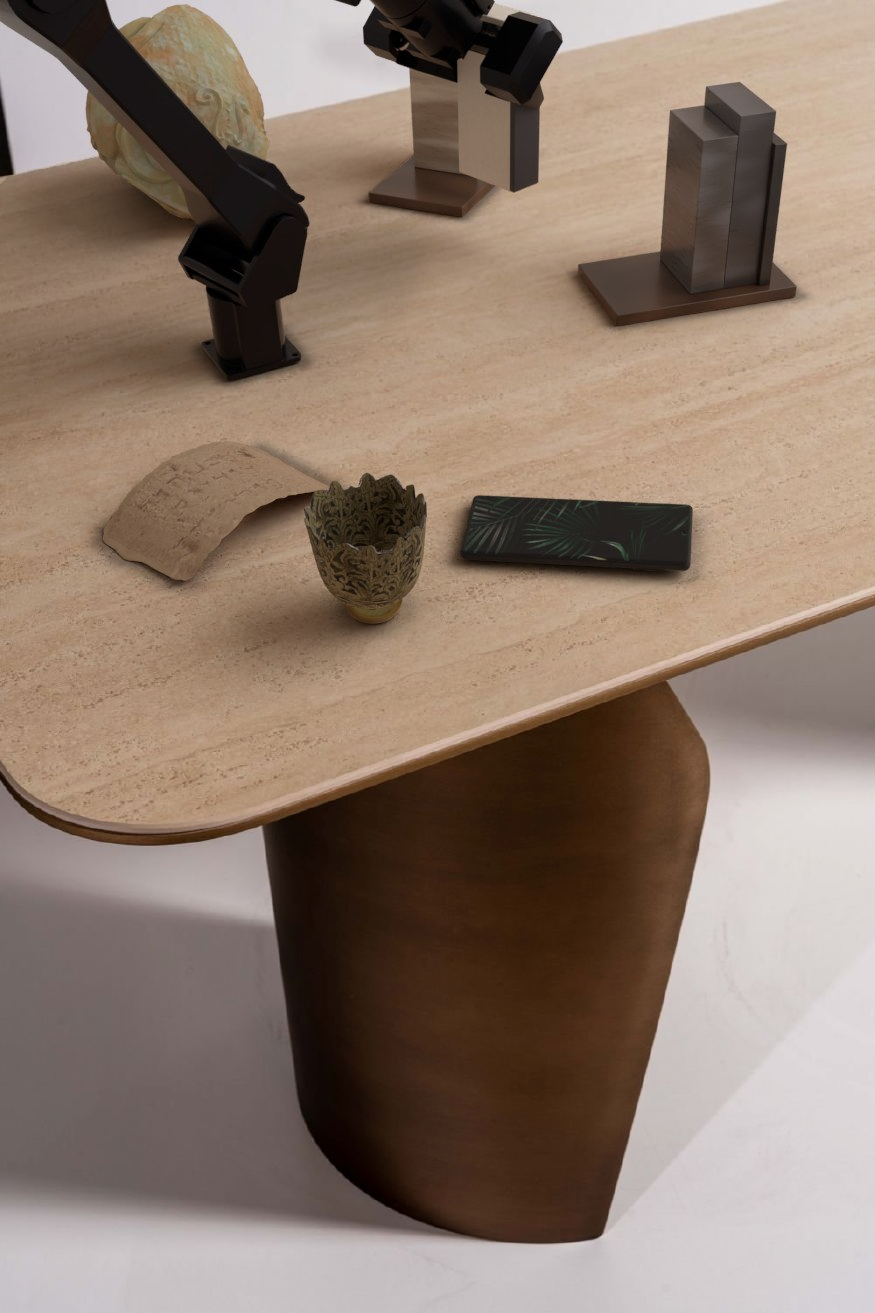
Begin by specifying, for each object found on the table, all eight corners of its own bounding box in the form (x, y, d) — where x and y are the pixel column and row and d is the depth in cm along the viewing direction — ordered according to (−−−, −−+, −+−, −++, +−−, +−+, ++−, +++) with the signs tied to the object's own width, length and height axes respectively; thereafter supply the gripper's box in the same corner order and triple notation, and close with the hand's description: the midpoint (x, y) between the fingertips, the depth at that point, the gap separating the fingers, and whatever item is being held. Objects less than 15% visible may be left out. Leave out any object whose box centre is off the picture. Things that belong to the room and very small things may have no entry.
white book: (514, 193, 123) (515, 24, 114) (458, 171, 127) (455, 6, 118) (538, 183, 124) (541, 15, 115) (483, 162, 128) (481, -2, 119)
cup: (330, 658, 87) (318, 554, 82) (304, 588, 92) (291, 486, 87) (446, 633, 88) (441, 528, 83) (415, 565, 94) (408, 463, 88)
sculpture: (46, 226, 139) (143, 201, 124) (44, 11, 137) (143, -41, 121) (201, 247, 150) (308, 226, 135) (202, 49, 148) (311, 5, 132)
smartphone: (473, 493, 98) (693, 503, 96) (473, 505, 99) (692, 515, 96) (458, 552, 93) (690, 564, 91) (459, 564, 94) (689, 576, 91)
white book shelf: (462, 217, 134) (457, 53, 124) (368, 202, 138) (357, 42, 128) (527, 155, 145) (527, 0, 135) (439, 142, 149) (433, -10, 139)
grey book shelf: (616, 326, 117) (625, 140, 107) (577, 274, 124) (582, 95, 114) (795, 296, 120) (821, 112, 110) (747, 247, 127) (766, 70, 117)
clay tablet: (189, 591, 92) (183, 558, 91) (93, 534, 98) (85, 502, 96) (344, 492, 100) (341, 460, 99) (247, 445, 106) (242, 413, 104)
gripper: (548, -92, 103) (639, 31, 116) (381, -130, 114) (481, -13, 126) (471, 46, 104) (570, 153, 117) (312, -4, 115) (419, 99, 128)
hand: (509, 93), depth 122 cm, fingers closed on white book, 7 cm apart
